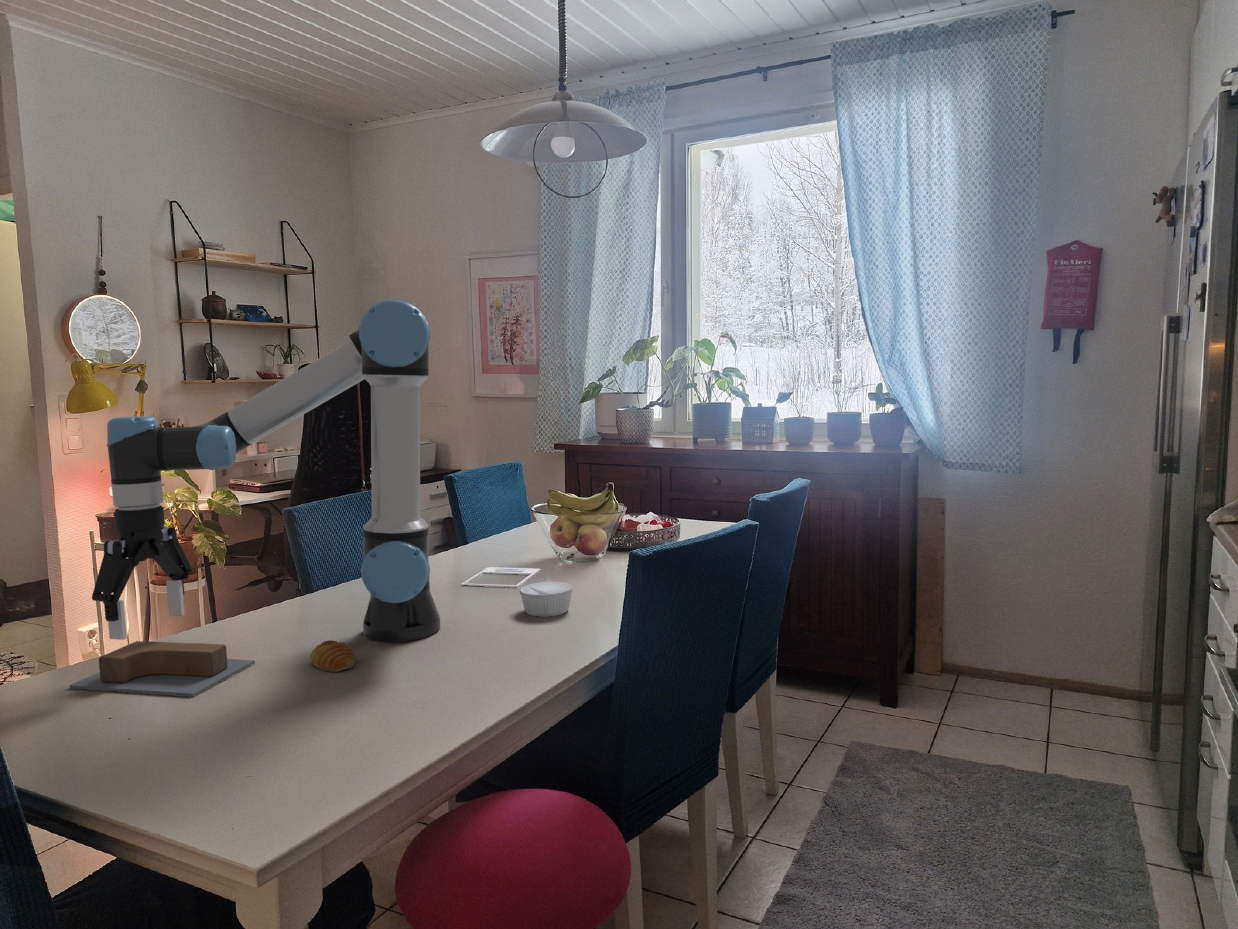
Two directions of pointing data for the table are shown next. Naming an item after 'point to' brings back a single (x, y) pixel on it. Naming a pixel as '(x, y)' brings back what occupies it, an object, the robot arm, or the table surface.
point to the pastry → (332, 656)
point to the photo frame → (504, 571)
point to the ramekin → (546, 598)
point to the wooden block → (162, 660)
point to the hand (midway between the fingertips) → (148, 626)
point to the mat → (165, 682)
